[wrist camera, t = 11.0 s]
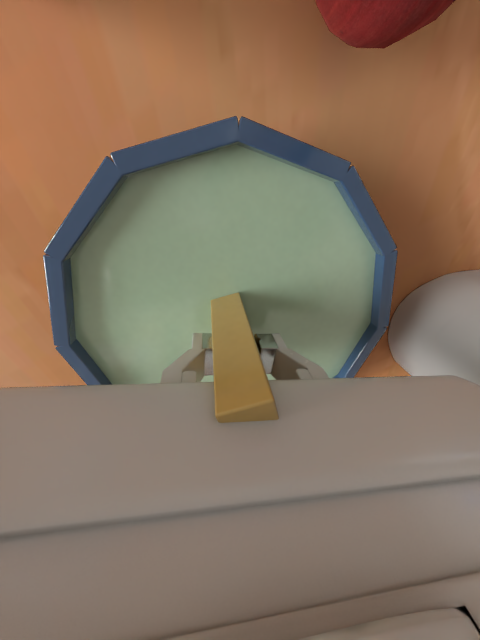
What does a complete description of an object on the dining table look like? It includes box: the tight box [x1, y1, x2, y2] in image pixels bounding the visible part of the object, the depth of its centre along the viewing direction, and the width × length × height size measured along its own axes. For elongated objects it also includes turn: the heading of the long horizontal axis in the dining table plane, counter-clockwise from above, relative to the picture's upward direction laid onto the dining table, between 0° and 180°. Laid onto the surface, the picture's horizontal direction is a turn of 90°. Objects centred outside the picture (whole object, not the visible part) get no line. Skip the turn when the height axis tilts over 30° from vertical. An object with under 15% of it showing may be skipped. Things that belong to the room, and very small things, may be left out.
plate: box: [43, 116, 398, 423], centre depth 11 cm, size 20×20×9 cm
